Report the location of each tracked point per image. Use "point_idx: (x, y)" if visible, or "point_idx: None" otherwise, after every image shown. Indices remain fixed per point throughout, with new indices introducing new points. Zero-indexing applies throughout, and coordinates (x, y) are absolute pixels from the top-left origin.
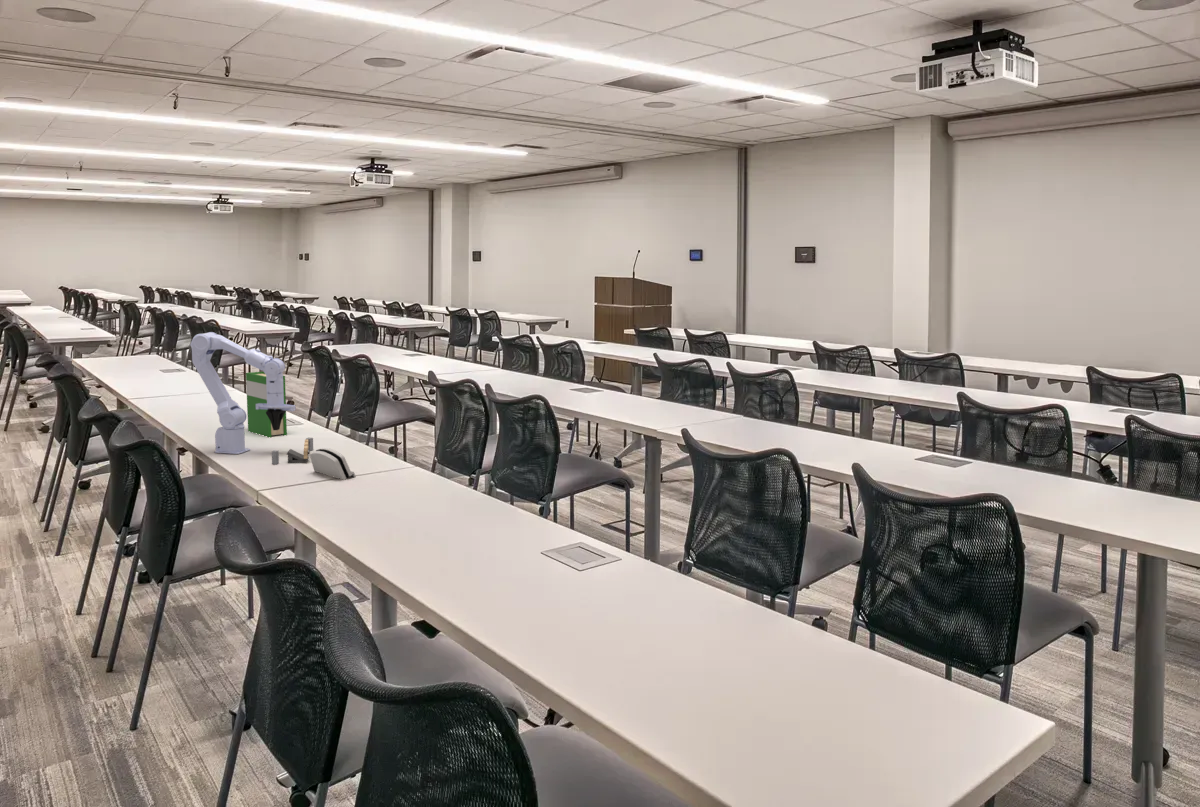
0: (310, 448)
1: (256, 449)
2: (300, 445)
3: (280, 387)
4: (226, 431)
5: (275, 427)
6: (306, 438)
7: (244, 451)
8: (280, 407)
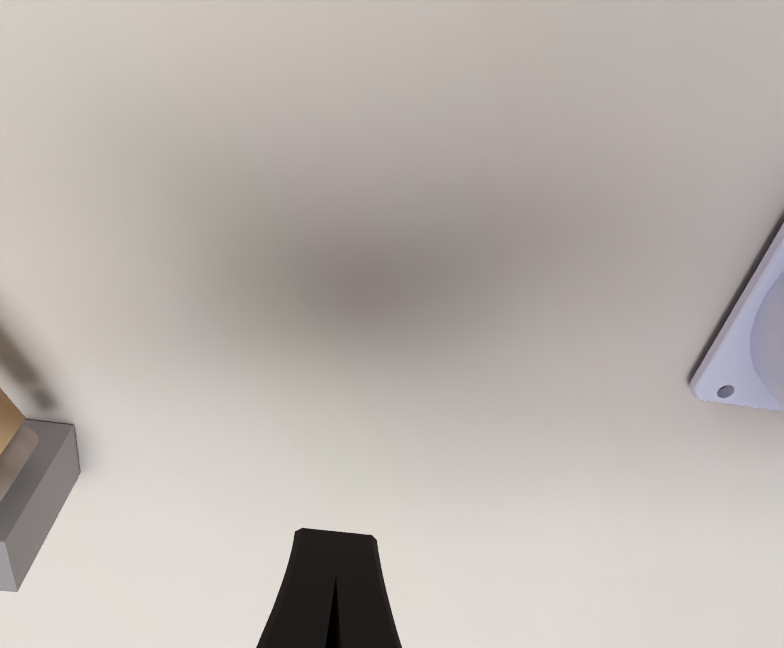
0: None
1: (626, 425)
2: (263, 587)
3: None
4: None
5: (303, 576)
6: (5, 551)
7: (749, 285)
8: None
